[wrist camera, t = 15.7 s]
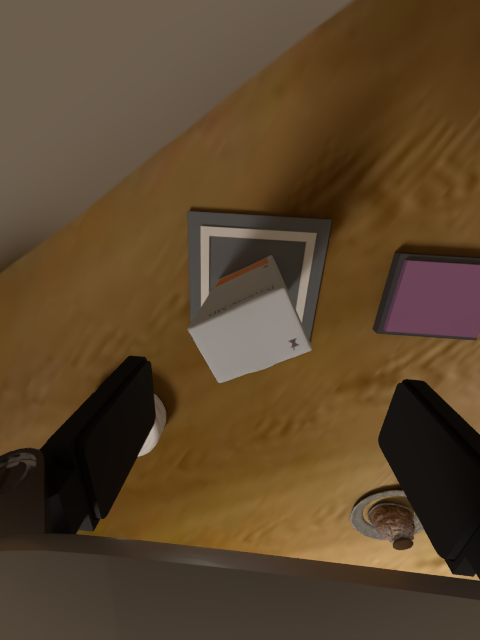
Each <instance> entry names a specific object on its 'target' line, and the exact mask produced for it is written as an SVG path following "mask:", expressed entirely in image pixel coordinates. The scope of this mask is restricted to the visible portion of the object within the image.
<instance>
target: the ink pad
mask: <svg viewBox="0 0 480 640" xmlns="http://www.w3.org/2000/svg"><path fill="white" fill-rule="evenodd" d="M373 330H374V331H375V332H376V333H378V334H393V335H407V336H422V337H436V338H450V339H465V340H476V339H477V337H478V335H479V333H480V258H478V257H462V256H446V255H430V254H414V253H397V252H395V254H394V257H393V261H392V264H391V268H390V271H389V274H388V278H387V281H386V285H385V288H384V292H383V295H382V299H381V302H380V306H379V309H378V312H377V316H376V319H375V323H374V326H373Z"/></svg>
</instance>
